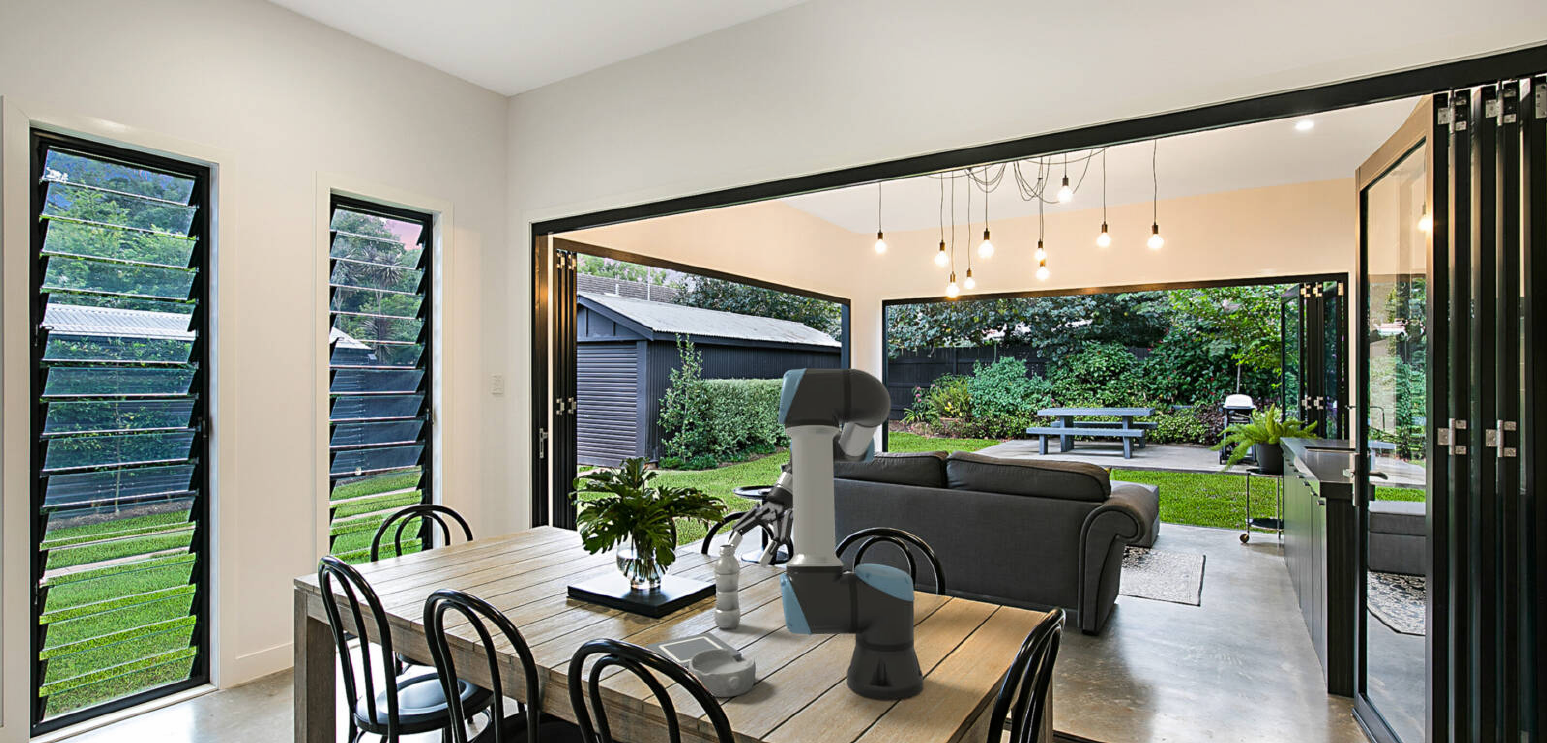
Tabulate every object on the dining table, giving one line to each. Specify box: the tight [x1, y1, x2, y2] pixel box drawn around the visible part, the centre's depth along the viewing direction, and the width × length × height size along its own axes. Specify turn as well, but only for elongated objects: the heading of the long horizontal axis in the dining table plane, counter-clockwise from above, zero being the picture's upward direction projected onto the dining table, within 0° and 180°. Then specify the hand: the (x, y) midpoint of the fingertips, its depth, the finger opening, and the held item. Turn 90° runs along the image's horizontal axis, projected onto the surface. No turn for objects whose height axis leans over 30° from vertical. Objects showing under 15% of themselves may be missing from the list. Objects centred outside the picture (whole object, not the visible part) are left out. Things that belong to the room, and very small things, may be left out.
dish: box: [688, 649, 757, 698], centre depth 147 cm, size 14×14×5 cm
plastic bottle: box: [713, 544, 742, 629], centre depth 182 cm, size 6×7×20 cm
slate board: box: [645, 632, 742, 670], centre depth 164 cm, size 16×16×1 cm
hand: (743, 560), depth 186 cm, fingers open, 13 cm apart
